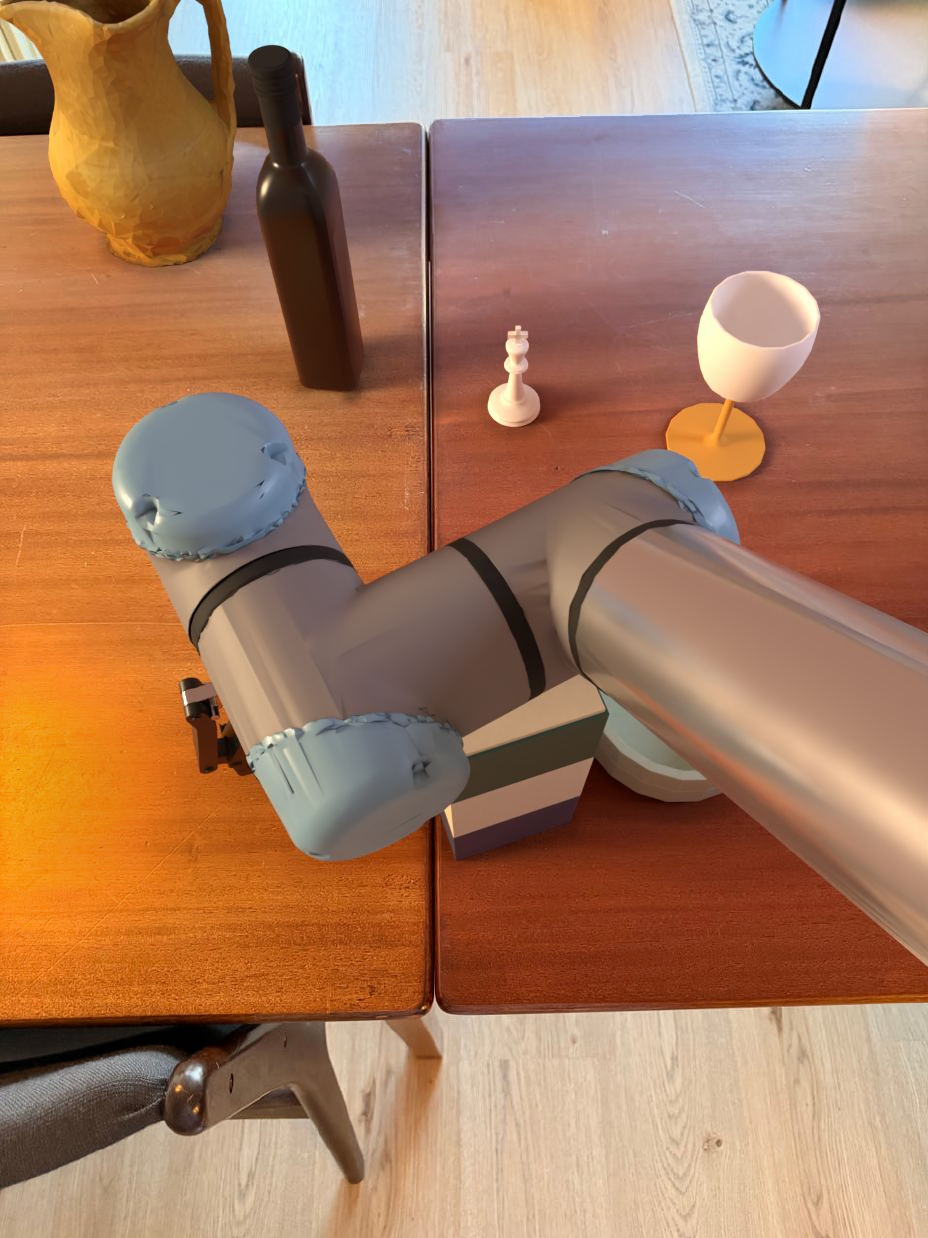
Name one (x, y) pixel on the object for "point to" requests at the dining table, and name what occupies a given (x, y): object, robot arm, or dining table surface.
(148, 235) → the pitcher
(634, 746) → the bowl
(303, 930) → the dining table surface
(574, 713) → the felt pad
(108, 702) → the dining table surface
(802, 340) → the cup
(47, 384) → the dining table surface
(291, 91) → the wine bottle
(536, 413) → the chess piece
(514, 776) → the book stack
